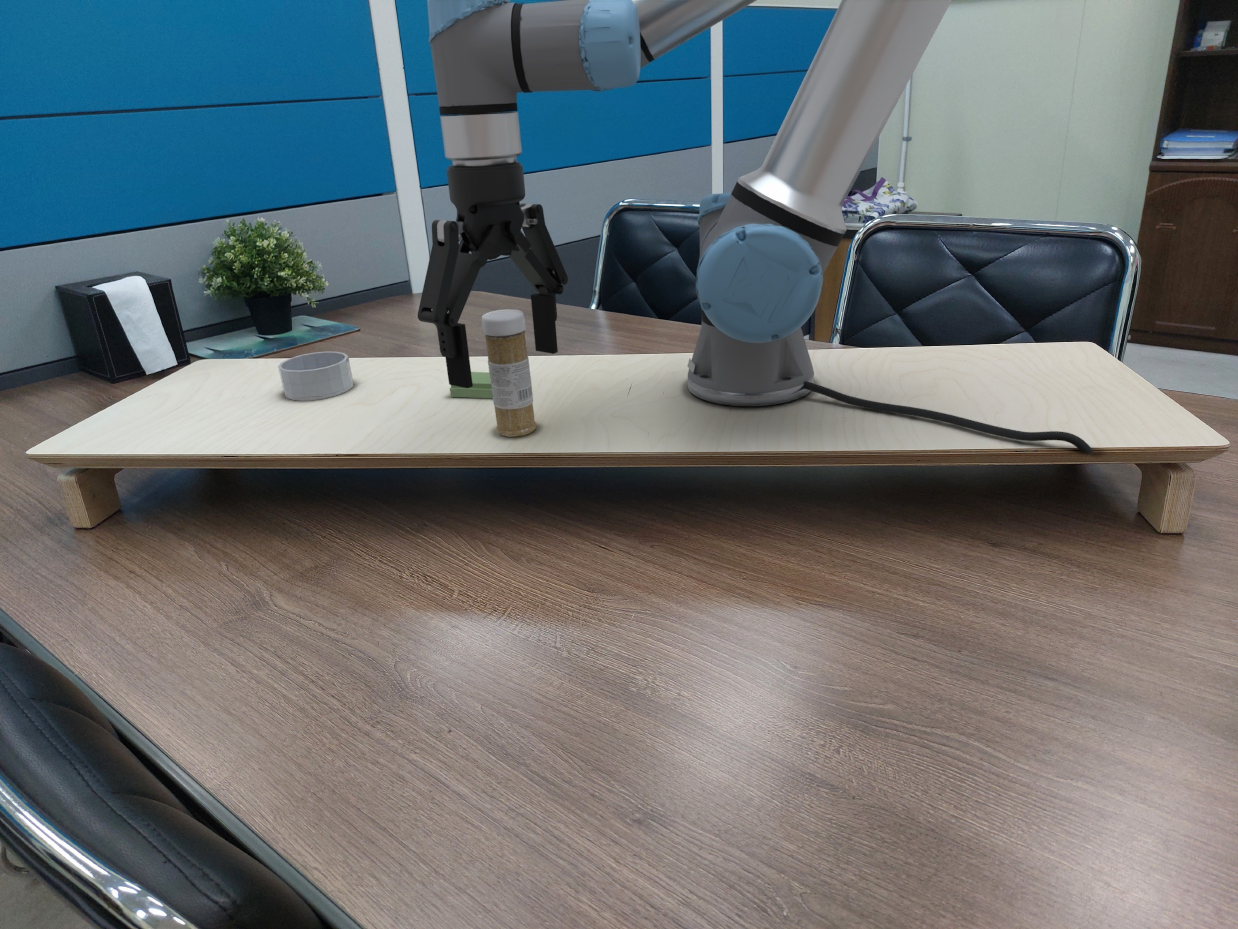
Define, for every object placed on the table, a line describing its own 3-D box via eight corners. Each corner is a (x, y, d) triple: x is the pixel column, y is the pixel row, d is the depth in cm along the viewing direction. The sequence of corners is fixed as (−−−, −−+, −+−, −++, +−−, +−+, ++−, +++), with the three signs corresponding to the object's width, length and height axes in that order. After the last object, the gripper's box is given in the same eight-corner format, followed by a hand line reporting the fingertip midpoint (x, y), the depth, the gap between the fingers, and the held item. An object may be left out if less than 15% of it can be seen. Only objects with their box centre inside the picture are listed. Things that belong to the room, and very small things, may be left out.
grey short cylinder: (365, 380, 115) (360, 352, 113) (329, 401, 107) (323, 372, 106) (310, 378, 117) (304, 350, 116) (271, 399, 110) (264, 370, 108)
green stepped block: (523, 386, 108) (522, 372, 108) (509, 399, 104) (507, 384, 103) (467, 384, 110) (465, 370, 110) (450, 397, 106) (448, 382, 105)
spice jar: (522, 420, 97) (509, 305, 91) (544, 430, 93) (532, 311, 88) (488, 431, 94) (472, 314, 89) (510, 441, 91) (495, 320, 85)
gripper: (538, 150, 93) (553, 335, 102) (356, 173, 75) (393, 395, 84) (591, 150, 89) (602, 343, 98) (412, 174, 71) (445, 408, 80)
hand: (506, 367), depth 91 cm, fingers open, 13 cm apart
